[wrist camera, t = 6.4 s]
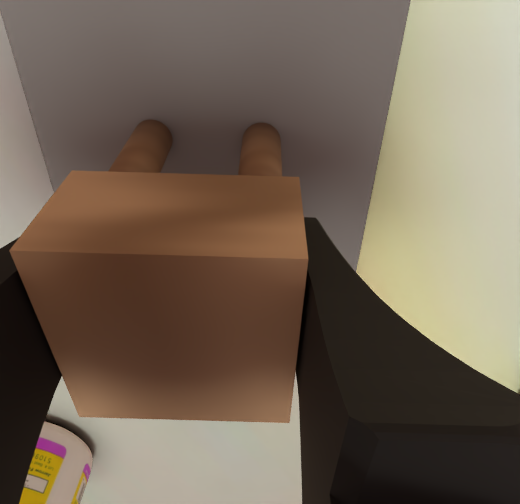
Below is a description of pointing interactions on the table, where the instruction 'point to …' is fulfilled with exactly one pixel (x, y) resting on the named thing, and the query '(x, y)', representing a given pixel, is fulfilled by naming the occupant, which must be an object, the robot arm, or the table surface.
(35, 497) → the supplement bottle
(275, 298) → the tan box with knobs
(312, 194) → the pad
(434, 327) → the table surface
